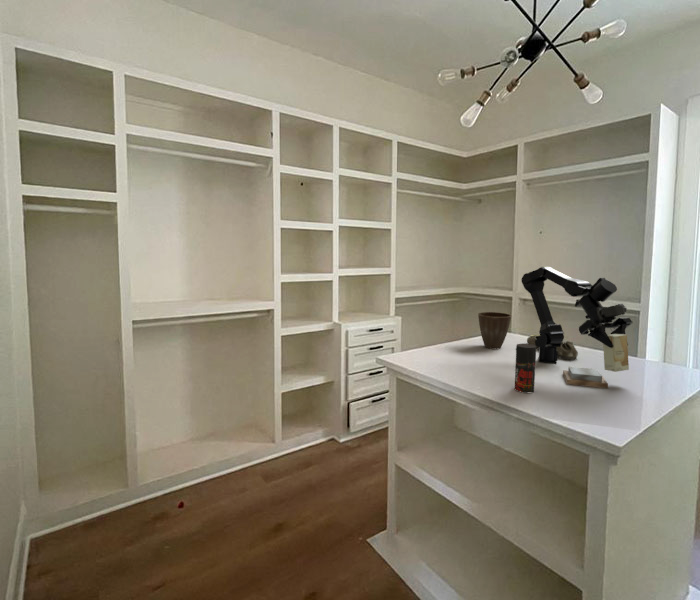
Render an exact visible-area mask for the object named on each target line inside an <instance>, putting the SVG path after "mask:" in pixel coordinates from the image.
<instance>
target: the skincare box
mask: <svg viewBox="0 0 700 600" xmlns="http://www.w3.org/2000/svg"><path fill="white" fill-rule="evenodd" d="M625 334H626V333H625ZM625 334H610V333H609V334H607V335H608V337H609V339H610V340H611V342H612V344H613V347H612V348H610V347H608V346H606V345H605V344H603V343H602V345H603V363H604V370H605V371H610V372H615V373H617V372H623V371H629V369H630V368H629V367H630V366H629V365H630V364H629V349H628V346H629V344H628V345H627V342H628V334H626V335H625Z"/></svg>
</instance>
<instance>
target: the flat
mask: <svg viewBox="0 0 700 600" xmlns="http://www.w3.org/2000/svg"><path fill="white" fill-rule="evenodd" d="M539 337H540V334H538V335H537V334H533V335H531V334H530V335H529V337H527V339H526V344H531V345H535V340H536V339H537V338H539ZM535 346H536V345H535ZM537 348H539V347H538V346H536V349H537ZM556 348H557V351H558V358H559V357H560V359H562V358H563V359H562V360H568V361H575V359H576V360H577V357H578V356H579V352H578V350H577V349H576V347H575V345H574V343H573V341H570V340H567V341H566V342H564V341H562V344H561V346H560V347H556Z"/></svg>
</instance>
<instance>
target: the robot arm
mask: <svg viewBox="0 0 700 600" xmlns="http://www.w3.org/2000/svg"><path fill="white" fill-rule="evenodd" d="M547 280H549V281H551V282H552V283H554V284H556V285H558V286H560V287H562V288H563V290H564V292H565V293H567V294H568V295H569V296H570V297H580V299H579V298H578V299H576V300H575V303H574V307H575V308H579V307H581V308H582V309H583V311H584V312H585V314H586V315H585V316H584V317H585V319H586V320H585V321H584V322H582V324H581V325H579V326H578V332H579V333H580V335H582V336H583V335H587V336H588V337H590V338H592V339H595V340H596V341H599V342H600V343H602V345H603V344H605V345H606V346H608V347H610V348H612V347H613V344H612V342H611V340H610V339H609V337H608V335H609V334H625V335H627V334H626V329H627V328H628V327H630V326H631V325H632V324H633V323H634V322H633V321H632V319H631V318H630V317H626V316H625V317H618V316H622V315H625V313H626V312H627V310H628V309H627V307H626V306H625V305H624V304H623V303H618V304H614V305H610V306H603V305H602V304H601V303H604V302H606V301H607V300H608V299H609V298H610V297H611V296H612V295H614V294H615V293H616V292H617V291H618V288H617V286H616V284H615V283H613V282H612V281H610V280H607V279H606V278H605V277H599V278H598V279H597V280H596V281H595V283H594V284H591V282H589V281H588V280H583V279H577V278H573V277H570V276H568V275H566V274H564V273H562V272H560V271H558V270H556V269H554V268H553V267H551V266H540V267H539V268H538V269H535V270H531V271H529V272H526V273H524V274H523V275H522V277H521V283H522V286H523V288H524V290H525V291H526V292H528V294H530V296H531V299H532V303H533V305H534V308H535V311H536V313H537V314H536V315H537V317H538V320H539V323H540V328H539V331H538V332H539V335H540V337H539V338H537V339H536V340H535V345H536V346H538V347H539V349H538V357H537V359H538V362H540V363H550V364H557V362H558V358H559V357H558V351H557V348H556V347H560V346H561V344H562V342H564V339H565V332H564V329H563V327H562V325H561V324H560V323H559V324H557V323H556V322H554V319H553V316H552V313H551V309H550V307H549V304H548V302H547V299H546V296H545V292H544V288H545V282H546V281H547ZM617 317H618V318H617ZM606 329H610V331H611V332H610V333H609V334H608V333H607V332H606ZM627 345H628V346H629V343H628V341H627Z"/></svg>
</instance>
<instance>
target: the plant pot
mask: <svg viewBox="0 0 700 600" xmlns="http://www.w3.org/2000/svg"><path fill="white" fill-rule="evenodd" d="M477 315H478V316H477V317H478V325H479V330H480V335H481V339H482V342H483V346H484V348H487V349H492V348H496V349H495V350H498V349H497V348H499V349H501V348H502V346H503V344H504V342H505V340H506V337H507V335H508V331H509V328H510V324H511V321H512V320H511V319H512V315H511V314H510V313H505V312H504V313H503V312H495V311H484V312H479V313H478V314H477Z"/></svg>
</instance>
